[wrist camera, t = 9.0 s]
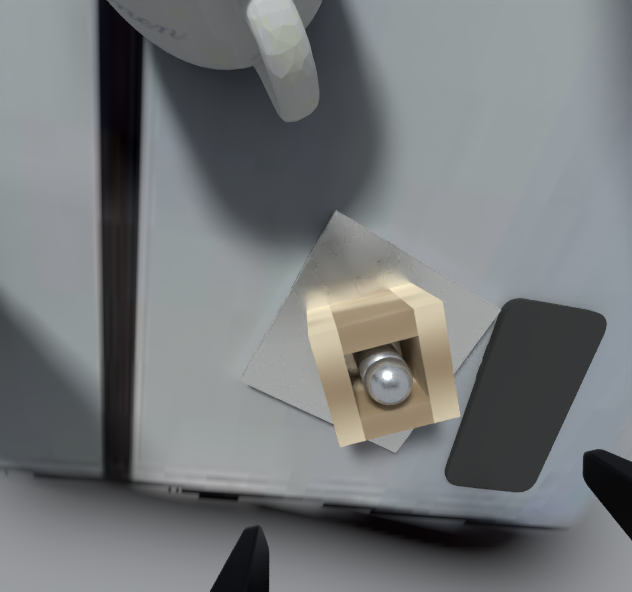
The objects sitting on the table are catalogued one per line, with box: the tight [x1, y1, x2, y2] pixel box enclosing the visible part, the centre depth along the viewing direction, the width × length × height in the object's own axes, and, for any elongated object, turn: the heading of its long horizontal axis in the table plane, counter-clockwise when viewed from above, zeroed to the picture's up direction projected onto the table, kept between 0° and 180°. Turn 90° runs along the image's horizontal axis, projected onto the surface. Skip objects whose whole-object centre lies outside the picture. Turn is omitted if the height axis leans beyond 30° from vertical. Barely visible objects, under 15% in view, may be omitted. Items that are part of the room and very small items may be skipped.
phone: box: [445, 298, 607, 492], centre depth 21 cm, size 7×1×15 cm
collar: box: [307, 283, 460, 447], centre depth 17 cm, size 6×6×4 cm
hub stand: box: [240, 210, 501, 453], centre depth 17 cm, size 12×12×6 cm
